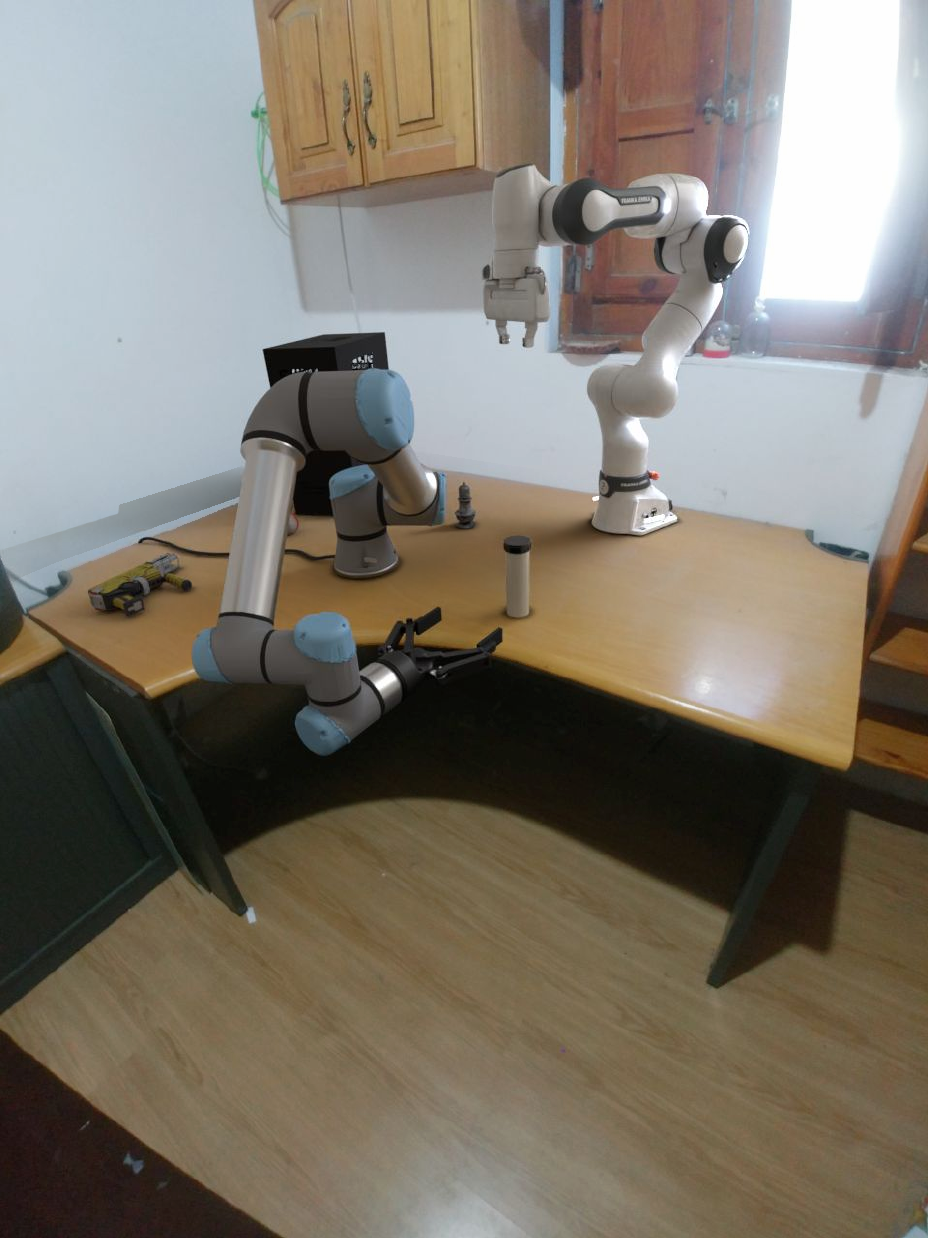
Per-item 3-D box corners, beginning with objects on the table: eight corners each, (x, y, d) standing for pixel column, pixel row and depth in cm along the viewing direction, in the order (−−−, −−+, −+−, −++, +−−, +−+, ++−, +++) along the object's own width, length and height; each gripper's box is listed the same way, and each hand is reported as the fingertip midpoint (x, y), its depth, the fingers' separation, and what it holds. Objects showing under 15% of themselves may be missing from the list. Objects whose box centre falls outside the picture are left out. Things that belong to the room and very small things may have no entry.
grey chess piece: (474, 529, 161) (472, 485, 155) (453, 528, 162) (450, 485, 156) (478, 521, 166) (476, 478, 160) (457, 520, 167) (455, 478, 161)
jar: (532, 609, 122) (533, 540, 115) (522, 619, 119) (522, 548, 111) (512, 604, 124) (512, 536, 117) (502, 614, 121) (500, 544, 113)
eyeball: (273, 537, 164) (268, 516, 161) (287, 528, 169) (282, 508, 166) (291, 539, 161) (286, 518, 158) (305, 530, 166) (301, 510, 163)
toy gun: (216, 561, 144) (165, 550, 148) (137, 604, 124) (81, 590, 128) (219, 578, 146) (168, 567, 150) (142, 623, 126) (86, 609, 130)
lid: (535, 545, 115) (535, 537, 114) (523, 556, 111) (523, 547, 111) (511, 541, 118) (511, 533, 117) (498, 551, 114) (498, 542, 113)
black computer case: (359, 516, 174) (334, 346, 152) (295, 513, 179) (262, 349, 156) (400, 477, 206) (384, 331, 183) (345, 476, 210) (323, 334, 188)
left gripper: (336, 676, 102) (418, 622, 116) (451, 731, 88) (528, 662, 103) (328, 638, 98) (415, 587, 112) (447, 689, 85) (528, 624, 99)
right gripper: (559, 265, 110) (557, 347, 117) (503, 268, 126) (504, 340, 133) (530, 266, 108) (529, 350, 115) (477, 269, 124) (479, 343, 131)
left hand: (469, 623), depth 108 cm, fingers open, 13 cm apart
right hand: (515, 345), depth 124 cm, fingers open, 8 cm apart
